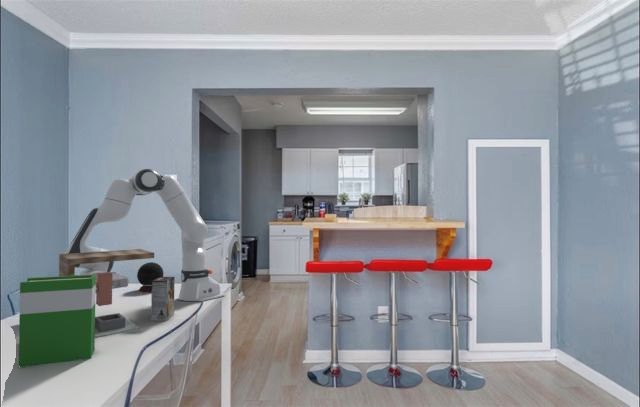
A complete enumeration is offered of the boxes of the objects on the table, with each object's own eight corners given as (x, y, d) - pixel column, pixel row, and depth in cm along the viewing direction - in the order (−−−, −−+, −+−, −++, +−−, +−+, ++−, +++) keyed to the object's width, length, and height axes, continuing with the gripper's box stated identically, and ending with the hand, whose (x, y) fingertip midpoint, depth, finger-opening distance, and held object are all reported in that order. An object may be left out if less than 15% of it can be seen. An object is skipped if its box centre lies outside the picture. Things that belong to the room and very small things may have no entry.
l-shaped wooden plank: (139, 316, 158) (140, 249, 158) (153, 326, 146) (154, 252, 146) (57, 331, 139) (59, 254, 139) (66, 343, 127) (67, 258, 127)
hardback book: (18, 367, 108) (20, 282, 108) (26, 358, 115) (28, 277, 115) (90, 358, 115) (92, 278, 115) (94, 350, 122) (95, 274, 122)
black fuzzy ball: (132, 290, 207) (132, 262, 207) (155, 286, 217) (155, 260, 217) (144, 293, 199) (145, 265, 199) (168, 289, 209) (168, 262, 209)
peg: (108, 301, 152) (109, 271, 152) (111, 304, 149) (112, 273, 149) (96, 303, 149) (96, 273, 149) (98, 306, 146) (99, 274, 146)
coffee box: (159, 314, 162) (159, 276, 162) (174, 314, 162) (175, 276, 162) (150, 321, 152) (151, 280, 153) (167, 320, 153) (167, 280, 153)
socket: (126, 319, 154) (126, 309, 154) (139, 328, 143) (139, 318, 143) (80, 327, 143) (80, 316, 143) (90, 338, 132) (90, 326, 132)
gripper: (66, 277, 152) (73, 282, 142) (122, 271, 166) (132, 276, 155) (66, 293, 152) (73, 300, 141) (122, 286, 166) (132, 292, 155)
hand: (104, 287), depth 149 cm, fingers closed on peg, 4 cm apart
